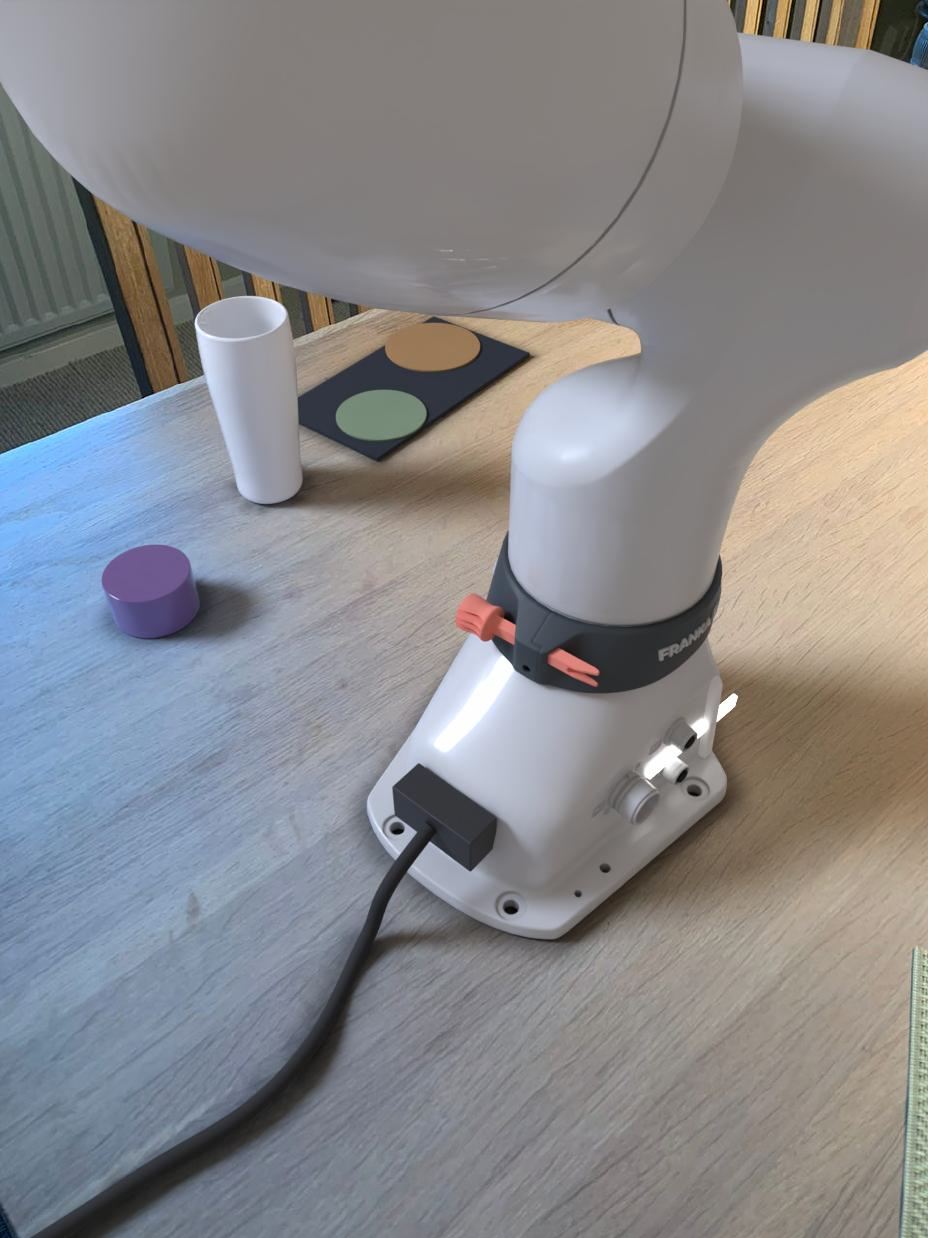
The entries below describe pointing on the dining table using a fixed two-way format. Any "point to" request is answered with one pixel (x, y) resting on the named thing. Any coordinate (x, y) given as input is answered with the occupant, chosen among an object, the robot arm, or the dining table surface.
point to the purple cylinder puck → (151, 591)
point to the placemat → (405, 386)
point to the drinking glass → (254, 392)
